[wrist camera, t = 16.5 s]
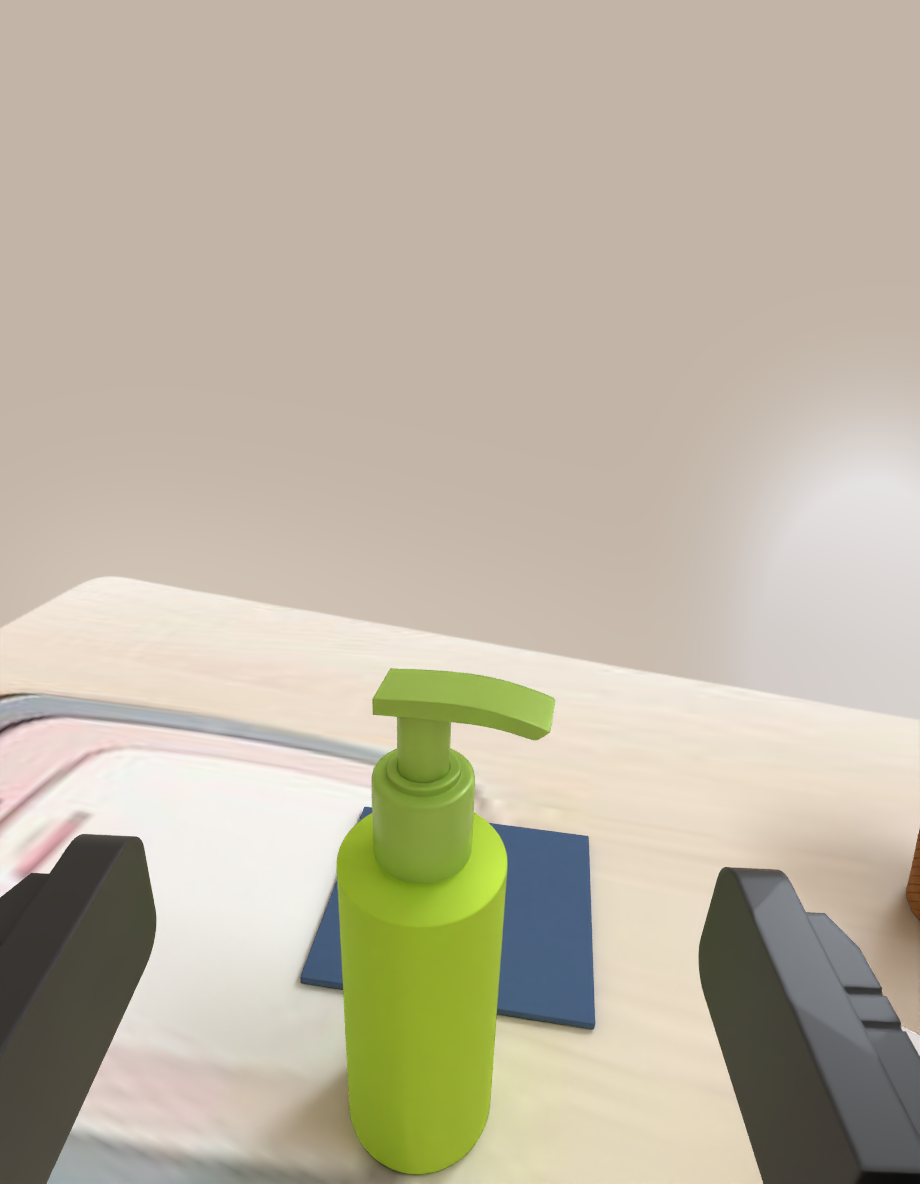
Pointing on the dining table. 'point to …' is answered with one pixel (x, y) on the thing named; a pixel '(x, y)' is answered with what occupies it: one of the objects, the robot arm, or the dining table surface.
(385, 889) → the soap dispenser
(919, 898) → the disposable coffee cup
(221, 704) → the dining table surface
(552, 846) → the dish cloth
